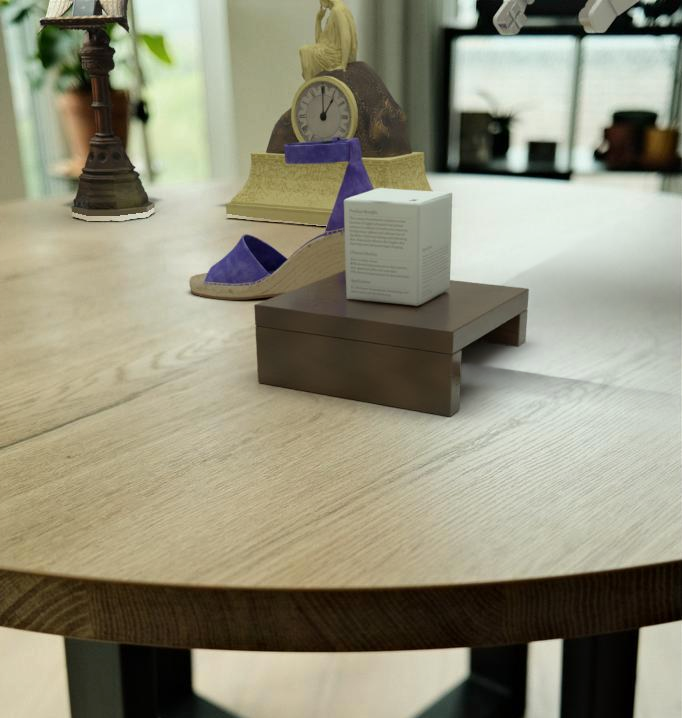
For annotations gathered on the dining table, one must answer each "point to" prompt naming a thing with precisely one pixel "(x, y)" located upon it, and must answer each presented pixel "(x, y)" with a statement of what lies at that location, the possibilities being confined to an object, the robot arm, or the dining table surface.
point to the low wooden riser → (382, 341)
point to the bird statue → (101, 112)
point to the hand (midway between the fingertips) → (543, 27)
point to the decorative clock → (331, 132)
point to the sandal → (311, 261)
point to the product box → (397, 245)
